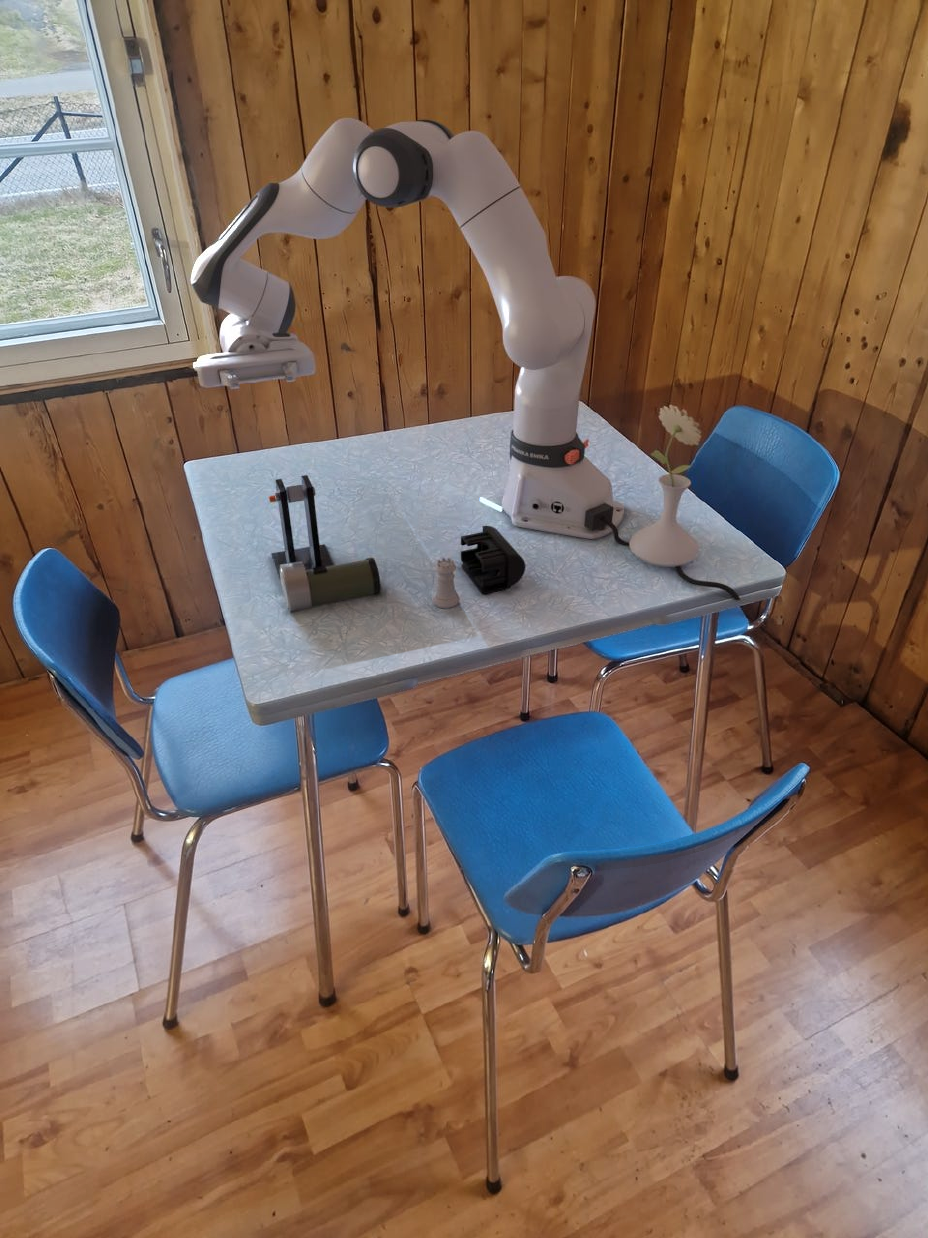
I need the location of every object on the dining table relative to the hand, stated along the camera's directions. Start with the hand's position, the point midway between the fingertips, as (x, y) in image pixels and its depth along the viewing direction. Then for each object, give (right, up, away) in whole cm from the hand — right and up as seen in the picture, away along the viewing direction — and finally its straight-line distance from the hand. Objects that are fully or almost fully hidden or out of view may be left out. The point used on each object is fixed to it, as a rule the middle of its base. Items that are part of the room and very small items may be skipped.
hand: (262, 380), depth 140 cm
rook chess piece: (+31, -39, -13) cm, 51 cm away
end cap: (+38, -34, -6) cm, 51 cm away
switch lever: (+6, -22, -7) cm, 23 cm away
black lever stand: (+8, -33, -5) cm, 34 cm away
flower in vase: (+67, -29, 0) cm, 73 cm away
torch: (+14, -37, -12) cm, 41 cm away
